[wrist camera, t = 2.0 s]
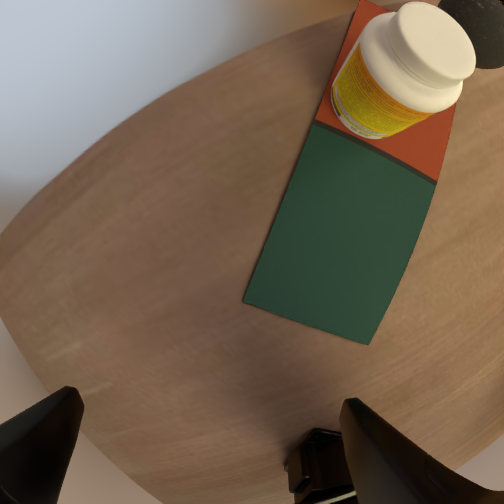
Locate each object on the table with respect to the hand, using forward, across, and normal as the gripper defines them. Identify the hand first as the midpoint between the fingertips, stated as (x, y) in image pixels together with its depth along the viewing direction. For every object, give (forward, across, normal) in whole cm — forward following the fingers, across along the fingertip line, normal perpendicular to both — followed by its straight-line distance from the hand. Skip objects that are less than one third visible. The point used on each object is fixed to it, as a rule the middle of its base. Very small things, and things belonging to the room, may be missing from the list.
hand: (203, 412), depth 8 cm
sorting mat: (+13, -10, -8) cm, 19 cm away
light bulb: (+14, -16, -16) cm, 27 cm away
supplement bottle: (+13, -10, -12) cm, 20 cm away
